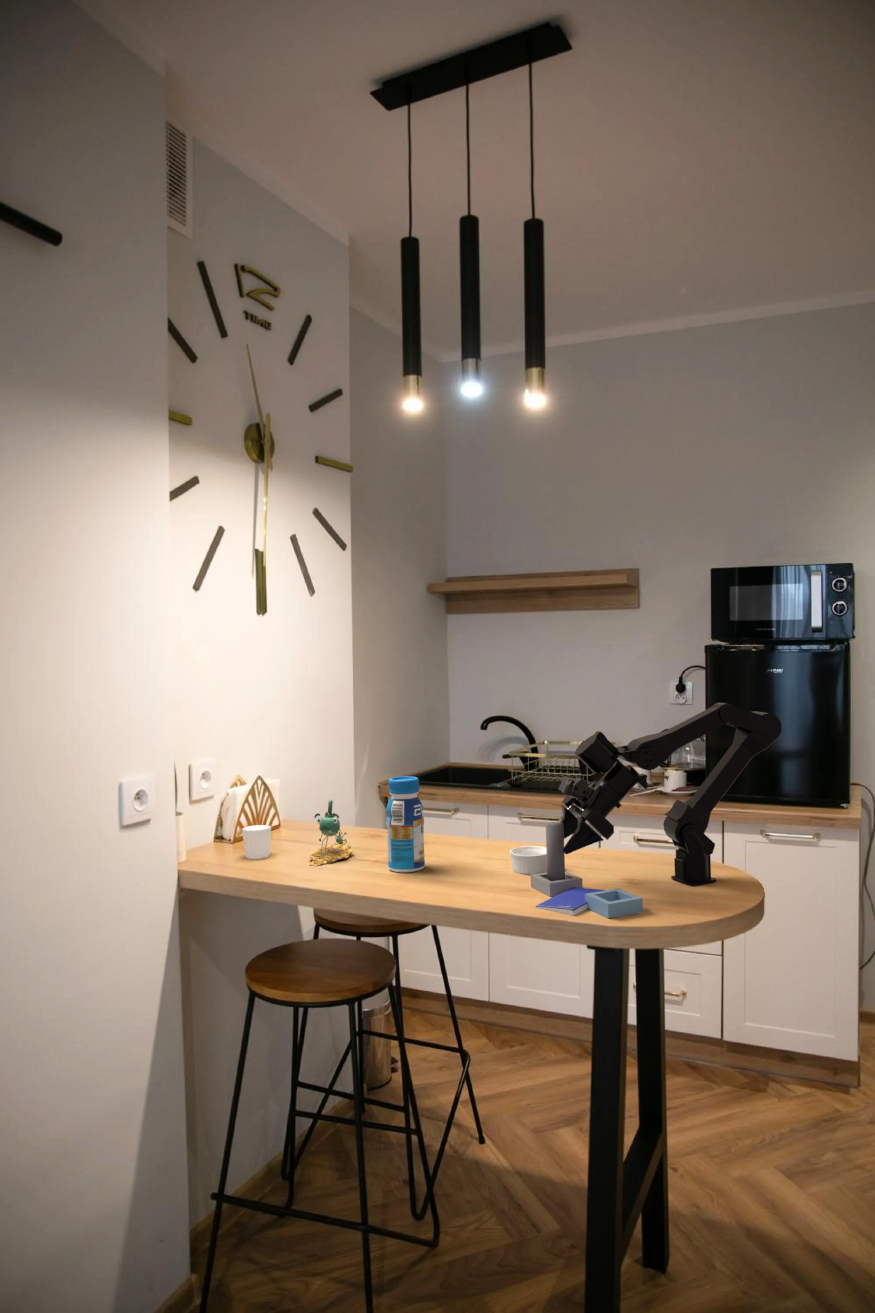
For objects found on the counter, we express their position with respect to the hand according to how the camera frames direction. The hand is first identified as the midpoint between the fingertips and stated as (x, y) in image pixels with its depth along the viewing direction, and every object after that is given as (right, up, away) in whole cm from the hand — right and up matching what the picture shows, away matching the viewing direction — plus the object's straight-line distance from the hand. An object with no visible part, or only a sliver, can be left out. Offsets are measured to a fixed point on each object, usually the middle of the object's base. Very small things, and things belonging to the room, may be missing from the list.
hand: (558, 847), depth 171 cm
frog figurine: (-49, -10, +33) cm, 59 cm away
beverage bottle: (-31, -9, +20) cm, 38 cm away
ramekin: (-4, -9, +15) cm, 18 cm away
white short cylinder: (-67, -10, +36) cm, 77 cm away
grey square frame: (0, -8, 0) cm, 8 cm away
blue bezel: (+8, -8, -14) cm, 18 cm away
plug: (0, -8, 0) cm, 8 cm away
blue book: (+1, -9, -10) cm, 13 cm away
